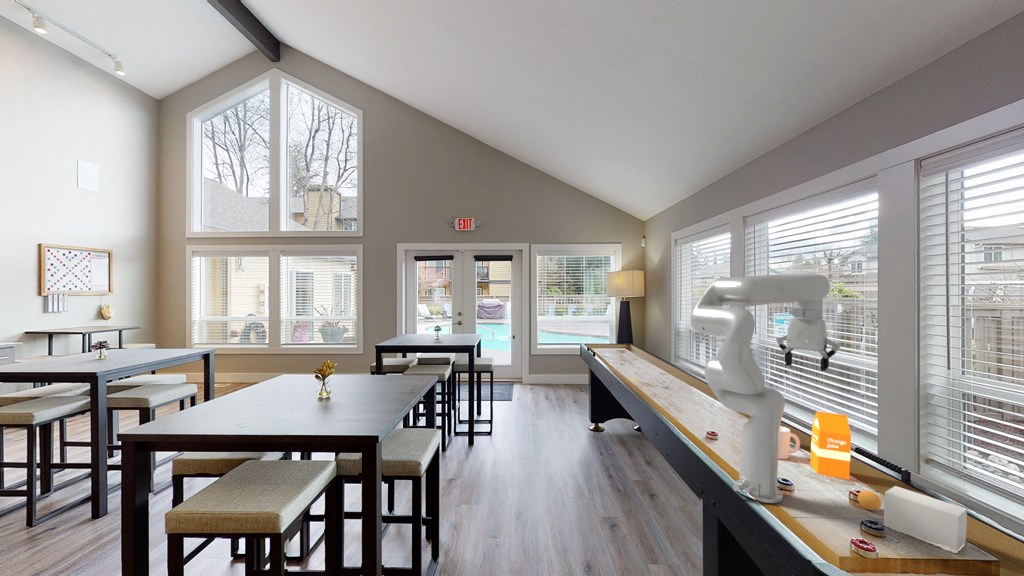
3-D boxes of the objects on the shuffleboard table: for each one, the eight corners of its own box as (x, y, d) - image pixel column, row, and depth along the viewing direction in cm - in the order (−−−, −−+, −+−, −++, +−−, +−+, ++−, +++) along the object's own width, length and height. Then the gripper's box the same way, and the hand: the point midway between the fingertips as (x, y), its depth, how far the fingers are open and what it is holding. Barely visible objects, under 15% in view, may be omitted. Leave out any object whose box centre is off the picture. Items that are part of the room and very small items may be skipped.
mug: (794, 454, 157) (795, 426, 157) (804, 462, 149) (806, 433, 149) (759, 450, 160) (760, 423, 160) (768, 458, 151) (769, 430, 151)
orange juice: (849, 479, 136) (852, 418, 137) (817, 474, 139) (820, 414, 140) (840, 470, 144) (842, 412, 144) (809, 465, 147) (812, 408, 147)
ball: (876, 515, 113) (877, 497, 113) (854, 507, 117) (855, 489, 117) (883, 511, 116) (884, 493, 116) (861, 503, 120) (862, 485, 120)
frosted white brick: (956, 554, 97) (958, 516, 97) (883, 526, 108) (884, 491, 108) (965, 545, 101) (967, 508, 101) (894, 518, 112) (895, 485, 112)
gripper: (773, 312, 140) (771, 364, 139) (836, 316, 126) (834, 373, 126) (782, 313, 144) (780, 362, 144) (844, 317, 130) (842, 371, 130)
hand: (805, 367), depth 135 cm, fingers open, 9 cm apart
